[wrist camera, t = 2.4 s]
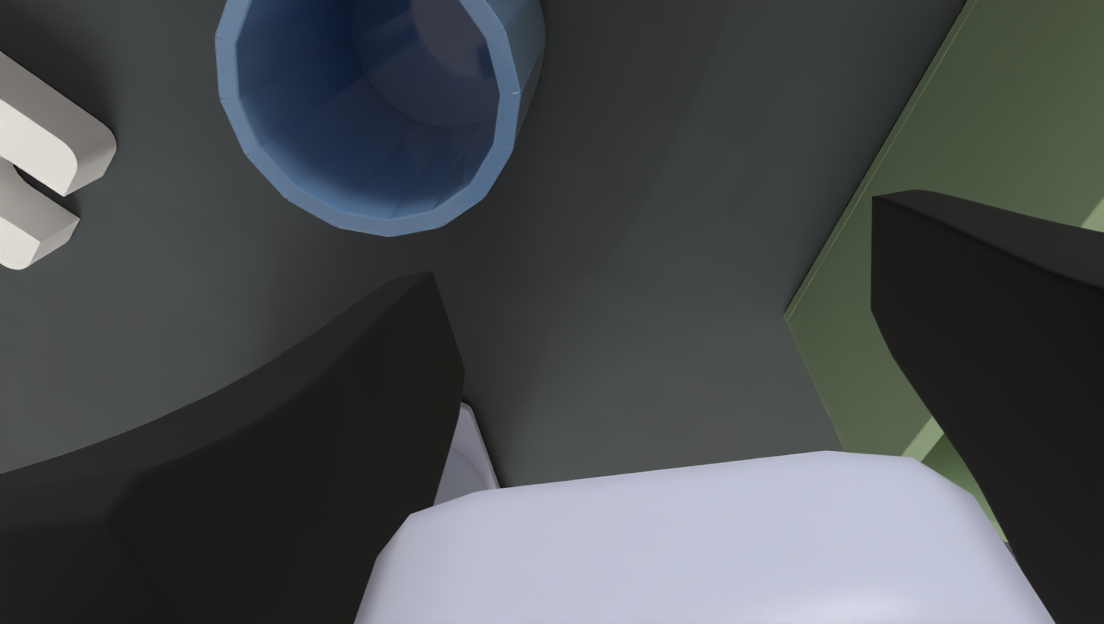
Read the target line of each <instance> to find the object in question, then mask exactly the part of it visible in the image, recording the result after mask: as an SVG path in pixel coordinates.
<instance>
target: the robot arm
mask: <svg viewBox="0 0 1104 624" xmlns="http://www.w3.org/2000/svg"><path fill="white" fill-rule="evenodd" d="M871 312H872V314H873V316H874V318H875V321H876V323H877V325H878V328H879V330H880V332H881V334H882V336H883V339H884V341H885V343H886V345H887V347H888V349H889V351H890V353H891V355H892V357H893V359H894V360H895V362H896V363H897V365H898V366H899V368H900V369H901V371H902V372H903V374H904V375H905V377H906V378H907V380H908V381H909V383H910V384H911V386H912V387H913V389H914V390H915V391H916V393H917V394H918V396H919V397H920V399H921V400H922V402H923V403H924V405H925V406H926V407H927V409H928V410H929V412H930V413H931V415H932V416H933V418H934V419H935V420H936V422H937V423H938V425H939V426H940V428H941V429H942V431H943V432H944V434H945V435H946V436H947V438H948V439H949V441H950V442H951V444H952V445H953V447H954V448H955V449H956V451H957V452H958V454H959V455H960V457H961V458H962V460H963V461H964V463H965V464H966V466H967V468H968V469H969V471H970V473H971V474H972V476H973V477H974V479H975V481H976V482H977V484H978V486H979V487H980V489H981V491H982V493H983V495H984V497H985V499H986V501H987V503H988V505H989V506H990V508H991V510H992V512H993V514H994V516H995V518H996V520H997V522H998V524H999V526H1000V527H1001V529H1002V531H1003V533H1004V535H1005V537H1006V539H1007V541H1008V543H1009V545H1010V547H1011V549H1012V551H1013V553H1014V555H1015V557H1016V559H1017V561H1018V563H1019V565H1020V567H1021V569H1022V571H1023V572H1022V571H1021V569H1020V567H1019V566H1018V564H1017V563H1016V561H1015V560H1014V558H1013V557H1012V555H1011V553H1010V552H1009V550H1008V549H1007V547H1006V546H1005V544H1004V543H1003V541H1002V539H1001V538H1000V536H999V535H998V533H997V532H996V530H995V529H994V527H993V525H992V524H991V522H990V521H989V519H988V518H987V516H986V514H985V513H984V511H983V510H982V508H981V507H980V505H979V504H978V502H977V500H976V499H975V497H974V496H973V495H972V494H970V493H969V492H967V491H966V490H964V489H962V488H961V487H959V486H958V485H956V484H954V483H953V482H951V481H950V480H948V479H946V478H945V477H943V476H942V475H940V474H938V473H937V472H935V471H934V470H932V469H930V468H929V467H927V466H926V465H924V464H922V463H921V462H919V461H917V460H916V459H914V458H913V457H900V456H887V455H875V454H862V453H849V452H836V451H818V452H810V453H801V454H793V455H784V456H776V457H767V458H759V459H750V460H741V461H733V462H724V463H716V464H707V465H699V466H690V467H682V468H673V469H664V470H656V471H647V472H639V473H630V474H622V475H613V476H605V477H596V478H587V479H579V480H570V481H562V482H553V483H545V484H536V485H528V486H519V487H510V488H502V489H500V487H499V484H498V481H497V478H496V475H495V473H494V470H493V467H492V464H491V461H490V458H489V456H488V453H487V450H486V447H485V444H484V441H483V439H482V436H481V433H480V430H479V427H478V425H477V422H476V419H475V416H474V413H473V411H472V409H471V407H470V406H469V405H467V404H465V403H463V402H461V399H462V391H463V382H464V372H465V368H464V365H463V361H462V358H461V355H460V352H459V349H458V346H457V343H456V340H455V337H454V334H453V331H452V328H451V325H450V322H449V319H448V316H447V313H446V310H445V307H444V304H443V301H442V298H441V295H440V292H439V289H438V286H437V283H436V280H435V277H434V274H433V271H430V272H424V273H419V274H413V275H407V276H401V277H398V278H396V279H393V280H391V281H389V282H388V283H386V284H384V285H383V286H381V287H379V288H378V289H376V290H375V291H373V292H372V293H370V294H369V295H367V296H366V297H364V298H363V299H362V300H360V301H359V302H357V303H356V304H355V305H353V306H352V307H350V308H349V309H348V310H346V311H345V312H343V313H342V314H341V315H339V316H338V317H336V318H335V319H333V320H332V321H331V322H329V323H328V324H326V325H325V326H324V327H322V328H321V329H319V330H318V331H316V332H315V333H313V334H312V335H310V336H309V337H307V338H306V339H304V340H303V341H301V342H300V343H298V344H297V345H295V346H294V347H292V348H291V349H289V350H288V351H286V352H285V353H283V354H282V355H280V356H279V357H277V358H275V359H274V360H272V361H270V362H269V363H267V364H266V365H264V366H262V367H260V368H259V369H257V370H255V371H254V372H252V373H250V374H248V375H247V376H245V377H243V378H241V379H239V380H237V381H235V382H234V383H232V384H230V385H228V386H226V387H224V388H223V389H221V390H219V391H217V392H215V393H213V394H211V395H209V396H207V397H204V398H202V399H200V400H198V401H196V402H193V403H191V404H189V405H187V406H185V407H183V408H180V409H178V410H176V411H174V412H172V413H170V414H167V415H165V416H163V417H161V418H159V419H156V420H154V421H152V422H150V423H147V424H145V425H142V426H140V427H137V428H135V429H132V430H130V431H127V432H125V433H122V434H120V435H117V436H115V437H112V438H109V439H106V440H104V441H101V442H98V443H95V444H93V445H90V446H87V447H84V448H82V449H79V450H76V451H73V452H70V453H67V454H64V455H61V456H58V457H55V458H52V459H49V460H46V461H42V462H39V463H36V464H33V465H29V466H26V467H23V468H19V469H16V470H13V471H10V472H6V473H3V474H0V624H1104V232H1100V231H1095V230H1090V229H1085V228H1081V227H1076V226H1071V225H1066V224H1062V223H1057V222H1053V221H1049V220H1045V219H1040V218H1036V217H1032V216H1028V215H1024V214H1020V213H1016V212H1012V211H1009V210H1005V209H1001V208H997V207H993V206H990V205H986V204H982V203H978V202H974V201H970V200H967V199H963V198H959V197H955V196H951V195H946V194H942V193H937V192H932V191H926V190H916V189H913V190H907V191H901V192H895V193H889V194H883V195H877V196H872V231H871ZM1023 573H1024V574H1023Z"/></svg>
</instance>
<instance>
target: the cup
mask: <svg viewBox="0 0 1104 624" xmlns="http://www.w3.org/2000/svg"><path fill="white" fill-rule="evenodd" d="M215 36H216V37H215V49H216V62H217V75H218V89H219V97H220V101H221V103H222V106H223V108H224V110H225V112H226V114H227V117H228V119H229V121H230V123H231V125H232V128H233V130H234V132H235V134H236V136H237V139H238V141H239V143H240V145H241V148H242V150H243V152H244V153H245V154H246V157H247V158H248V159H249V160H250V161H251V162H252V163H253V164H254V165H255V166H256V168H257V169H258V170H259V171H260V172H261V173H262V174H263V175H264V176H265V177H266V178H267V179H268V181H269V182H270V183H271V184H272V185H273V186H274V187H275V188H276V189H277V190H278V191H279V192H280V194H281V195H282V196H283V197H284V198H287V200H288V201H290V202H291V203H293V204H295V205H297V206H298V207H300V208H302V209H304V210H306V211H307V212H309V213H311V214H313V215H315V216H316V217H318V218H320V219H322V220H323V221H325V222H327V223H329V224H331V225H332V226H334V227H337V228H341V229H346V230H352V231H358V232H363V233H369V234H374V235H380V236H386V237H390V236H391V237H395V236H400V235H405V234H410V233H415V232H420V231H425V230H431V229H436V228H440V227H441V226H444V225H446V224H447V223H449V222H450V221H452V220H453V219H455V218H456V217H458V216H459V215H461V214H462V213H464V212H465V211H467V210H468V209H469V208H471V207H472V206H474V205H475V204H477V203H478V202H480V201H481V200H483V198H484V197H485V196H486V195H487V194H488V192H489V190H490V189H491V187H492V185H493V184H494V182H495V181H496V179H497V177H498V176H499V174H500V172H501V171H502V169H503V168H504V166H505V164H506V163H507V161H508V159H509V158H510V156H511V155H512V152H513V149H514V147H515V144H516V141H517V138H518V136H519V133H520V130H521V128H522V125H523V122H524V119H525V117H526V114H527V111H528V108H529V106H530V103H531V100H532V97H533V95H534V92H535V89H536V86H537V84H538V81H539V78H540V74H541V68H542V62H543V58H544V52H545V42H546V31H545V22H544V15H543V10H542V6H541V3H540V0H227V1H226V4H225V7H224V10H223V13H222V16H221V19H220V22H219V25H218V27H217V30H216V33H215Z"/></svg>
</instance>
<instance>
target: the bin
mask: <svg viewBox="0 0 1104 624" xmlns="http://www.w3.org/2000/svg"><path fill="white" fill-rule="evenodd" d="M913 189H916V190H926V191H932V192H937V193H942V194H946V195H951V196H955V197H959V198H963V199H967V200H970V201H974V202H978V203H982V204H986V205H990V206H993V207H997V208H1001V209H1005V210H1009V211H1012V212H1016V213H1020V214H1024V215H1028V216H1032V217H1036V218H1040V219H1045V220H1049V221H1053V222H1057V223H1062V224H1066V225H1071V226H1076V227H1081V228H1085V229H1090V230H1095V231H1100V232H1104V0H967V2H966V4H965V5H964V7H963V9H962V11H961V12H960V14H959V16H958V17H957V19H956V21H955V23H954V24H953V26H952V28H951V29H950V31H949V33H948V35H947V36H946V38H945V40H944V41H943V43H942V45H941V47H940V48H939V50H938V52H937V53H936V55H935V57H934V58H933V60H932V62H931V64H930V65H929V67H928V69H927V70H926V72H925V74H924V76H923V77H922V79H921V81H920V82H919V84H918V86H917V88H916V89H915V91H914V93H913V94H912V96H911V98H910V100H909V101H908V103H907V105H906V106H905V108H904V110H903V112H902V113H901V115H900V117H899V118H898V120H897V122H896V124H895V125H894V127H893V129H892V130H891V132H890V134H889V136H888V137H887V139H886V141H885V142H884V144H883V146H882V147H881V149H880V151H879V153H878V154H877V156H876V158H875V159H874V161H873V163H872V165H871V166H870V168H869V170H868V171H867V173H866V175H865V177H864V178H863V180H862V182H861V183H860V185H859V187H858V189H857V190H856V192H855V194H854V195H853V197H852V199H851V201H850V202H849V204H848V206H847V207H846V209H845V211H844V213H843V214H842V216H841V218H840V219H839V221H838V223H837V225H836V226H835V228H834V230H833V231H832V233H831V235H830V237H829V238H828V240H827V242H826V243H825V245H824V247H823V248H822V250H821V252H820V254H819V255H818V257H817V259H816V260H815V262H814V264H813V266H812V267H811V269H810V271H809V272H808V274H807V276H806V278H805V279H804V281H803V283H802V284H801V286H800V288H799V290H798V291H797V293H796V295H795V296H794V298H793V300H792V302H791V303H790V305H789V307H788V308H787V310H786V312H785V314H784V319H785V321H786V322H787V326H788V328H789V330H790V332H791V334H792V337H793V339H794V341H795V343H796V345H797V348H798V350H799V352H800V354H801V356H802V359H803V361H804V363H805V365H806V367H807V370H808V372H809V374H810V376H811V378H812V381H813V383H814V385H815V387H816V389H817V392H818V394H819V396H820V398H821V400H822V403H823V405H824V407H825V409H826V411H827V414H828V416H829V418H830V420H831V423H832V425H833V427H834V429H835V431H836V434H837V436H838V438H839V440H840V442H841V445H842V447H843V449H844V451H845V452H849V453H862V454H875V455H887V456H900V457H913V458H914V459H916V460H917V461H919V462H921V463H922V464H924V465H926V466H927V467H929V468H930V469H932V470H934V471H935V472H937V473H938V474H940V475H942V476H943V477H945V478H946V479H948V480H950V481H951V482H953V483H954V484H956V485H958V486H959V487H961V488H962V489H964V490H966V491H967V492H969V493H970V494H972V495H973V496H974V497H975V499H976V500H977V502H978V504H979V505H980V507H981V508H982V510H983V511H984V513H985V514H986V516H987V518H988V519H989V521H990V522H991V524H992V525H993V527H994V529H995V530H996V532H997V533H998V535H999V536H1000V538H1001V539H1002V541H1005V542H1008V541H1007V539H1006V537H1005V535H1004V533H1003V531H1002V529H1001V527H1000V526H999V524H998V522H997V520H996V518H995V516H994V514H993V512H992V510H991V508H990V506H989V505H988V503H987V501H986V499H985V497H984V495H983V493H982V491H981V489H980V487H979V486H978V484H977V482H976V481H975V479H974V477H973V476H972V474H971V473H970V471H969V469H968V468H967V466H966V464H965V463H964V461H963V460H962V458H961V457H960V455H959V454H958V452H957V451H956V449H955V448H954V447H953V445H952V444H951V442H950V441H949V439H948V438H947V436H946V435H945V434H944V432H943V431H942V429H941V428H940V426H939V425H938V423H937V422H936V420H935V419H934V418H933V416H932V415H931V413H930V412H929V410H928V409H927V407H926V406H925V405H924V403H923V402H922V400H921V399H920V397H919V396H918V394H917V393H916V391H915V390H914V389H913V387H912V386H911V384H910V383H909V381H908V380H907V378H906V377H905V375H904V374H903V372H902V371H901V369H900V368H899V366H898V365H897V363H896V362H895V360H894V359H893V357H892V355H891V353H890V351H889V349H888V347H887V345H886V343H885V341H884V339H883V336H882V334H881V332H880V330H879V328H878V325H877V323H876V321H875V318H874V316H873V314H872V312H871V231H872V196H877V195H883V194H889V193H895V192H901V191H907V190H913Z"/></svg>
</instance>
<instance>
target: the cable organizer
mask: <svg viewBox="0 0 1104 624" xmlns="http://www.w3.org/2000/svg"><path fill="white" fill-rule="evenodd" d="M116 147H117V146H116V140H115V137H114V135H113V134H112V132H111V131H110V130H109V129H108V127H106V126H105V125H104V124H103V123H101V122H100V121H98V120H97V119H96V118H94V117H93V116H91V115H90V114H89V113H87V112H86V111H84V110H83V109H81V108H80V107H79V106H77V105H76V104H74V103H73V102H72V101H70V100H69V99H67V98H66V97H64V96H63V95H62V94H60V93H59V92H57V91H56V90H54V89H53V88H52V87H50V86H49V85H47V84H46V83H45V82H43V81H42V80H40V79H39V78H37V77H36V76H35V75H33V74H32V73H30V72H29V71H28V70H26V69H25V68H23V67H22V66H20V65H19V64H18V63H16V62H15V61H13V60H12V59H10V58H9V57H8V56H6V55H5V54H3V53H2V52H1V51H0V263H1V264H2V265H4V266H6V267H8V268H11V269H18V270H19V269H24V268H26V267H28V266H29V265H31V264H32V263H34V262H36V261H37V260H39V259H40V258H42V257H44V256H45V255H47V254H49V253H50V252H52V251H53V250H55V249H57V248H58V247H60V246H62V245H63V244H65V243H66V242H67V241H68V240H69V239H70V237H71V235H72V233H73V231H74V229H75V228H76V226H77V224H78V222H79V220H80V218H78V217H77V216H75V215H74V214H72V213H71V212H69V211H68V210H66V209H65V208H63V207H61V206H60V205H58V204H57V203H55V202H54V201H52V200H51V199H49V198H48V197H46V196H45V195H43V194H42V193H40V192H39V191H37V190H36V189H34V188H33V187H31V186H30V185H29V184H27V183H26V182H25V181H24V180H23V179H22V178H21V177H20V176H19V175H18V173H17V171H16V170H15V168H14V166H13V164H15V165H16V166H18V167H19V168H21V169H22V170H24V171H25V172H27V173H28V174H30V175H31V176H33V177H34V178H36V179H37V180H39V181H40V182H42V183H43V184H45V185H47V186H48V187H50V188H51V189H53V190H54V191H56V192H57V193H59V194H60V195H62V196H63V197H64V196H66V195H68V194H70V193H72V192H74V191H76V190H78V189H79V188H81V187H83V186H85V185H87V184H89V183H91V182H93V181H94V180H96V179H98V178H100V177H102V176H103V175H104V173H105V171H106V169H107V167H108V166H109V164H110V162H111V160H112V158H113V156H114V154H115V152H116ZM12 163H13V164H12Z"/></svg>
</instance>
